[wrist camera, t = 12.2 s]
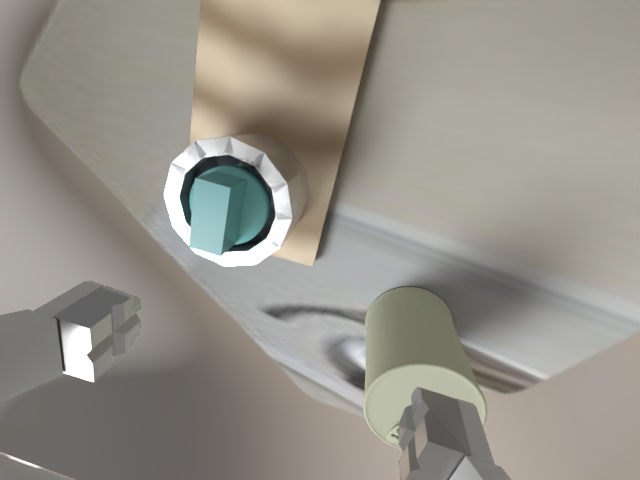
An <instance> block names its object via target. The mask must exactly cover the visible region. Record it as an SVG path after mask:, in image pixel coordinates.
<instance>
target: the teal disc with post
mask: <svg viewBox="0 0 640 480" xmlns="http://www.w3.org/2000/svg"><path fill="white" fill-rule="evenodd" d="M190 209H191V213H192V216H191V226H190V237H189V247H190V248H193V249H197V250H200V251H203V252H207V253H210V254H214V255H217V256H220V257H221V256H222V255H223V254H224V253H225V252H227V251H228V250H229V249H230V248H231V247H232V246H233V245H234V244H241V243H245V242H247V241H249V240H251V239H252V238H254V237H255V236H256V235H257V234H258V233H259V232H260V231H261V230H262V229H263V228H264V226H265V225H266V223H267V222H268V220H269V217H270V213H271V198H270V195H269V192H268V189H267V187H266V185H265V184H264V182H263V181H262V180H261V179H260V178H259V176H258V175H256V174H255V173H254V172H253V171H251V170H249V169H247V168H245V167H243V166H240V165H234V164H227V165H222V166H218V167H215V168H212V169H209V170H207V171H205V172H204V173H202V174H201V175H200V176H199V177H196V178H195V182H194V184H193V186H192V188H191V192H190Z"/></svg>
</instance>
